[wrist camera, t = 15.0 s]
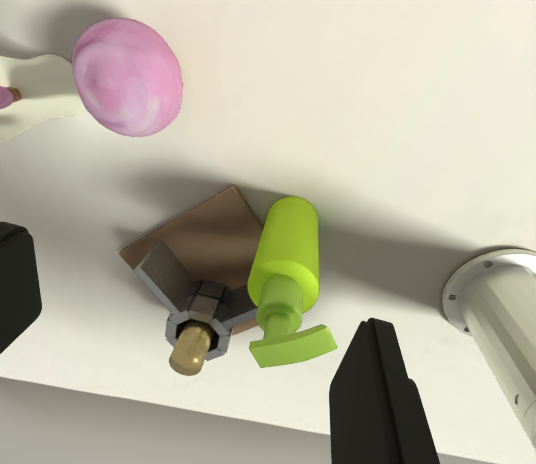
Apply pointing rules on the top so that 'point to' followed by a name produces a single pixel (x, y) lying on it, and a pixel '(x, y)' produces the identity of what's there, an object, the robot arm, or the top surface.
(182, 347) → the hinge pin
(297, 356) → the soap dispenser
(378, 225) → the top surface
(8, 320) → the robot arm
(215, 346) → the hinge
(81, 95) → the cupcake
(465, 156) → the top surface
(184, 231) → the hinge base
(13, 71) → the beer glass
